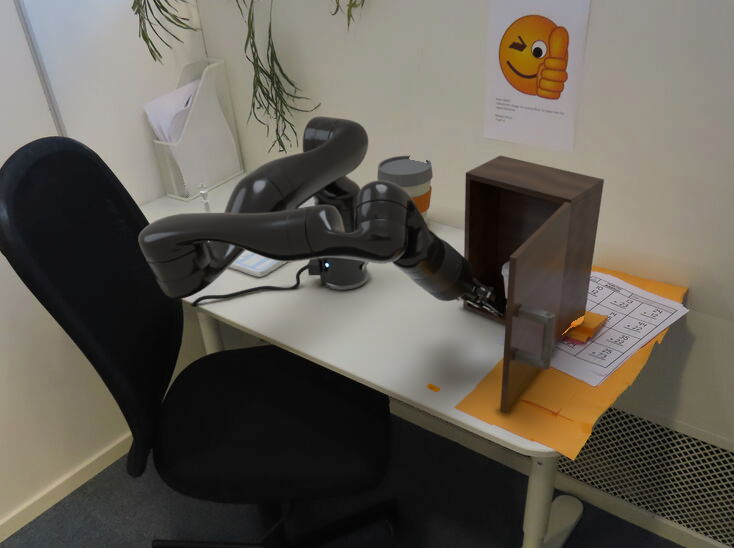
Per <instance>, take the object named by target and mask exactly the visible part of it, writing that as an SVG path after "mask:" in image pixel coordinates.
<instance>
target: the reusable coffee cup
mask: <svg viewBox="0 0 734 548" xmlns="http://www.w3.org/2000/svg"><path fill="white" fill-rule="evenodd" d="M410 156H411V155H398V156H393V157H392V156H391V157H388V158H387V159H386V158H385V159H383V160H381V161H380V162H379V163H378V165H377V181H388V182H392V183H394V184H396V185H398V186H400V187H401V188H403V189H404V190H405V191H406V192H407V193H408V194H409V195H410V197H411V198H412V199H413V201H414V202H415V204H416V206H417V208H418V209H419V211H420V213H421V215H422V216H423V218H424V220H425V223H426V224H427V217H428V210H429V209H430V206H431V198H432V189H433V187H432V185H431V182H432V179H433V177H434V176H433V175H434V174H433V167H432V162H431V160H429V159H428V160H426V162H427V163H424V162H420V161H415V160H410V159H409V157H410Z"/></svg>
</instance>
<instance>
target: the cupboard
mask: <svg viewBox="0 0 734 548" xmlns="http://www.w3.org/2000/svg"><path fill="white" fill-rule="evenodd" d="M464 184H465V185H464V186H465V187H464V188H465V190H464V191H465V193H464V194H465V195H464V243H463V245H464V246H463V248H464V250H463V257H464V258H465V259H466V260H467V261H468V262H469V263H470V265H471V267H472V272H473V277H474V278H476V279H477V281H478V282H480V283H481V284H483V285H485V286H487V287H488V288H489V287H493V288H494V289H495V290H497V291H498V292H499V293H500V294H501V295H503V296H504V297H505V285H504V276H503V275H502V267H503V265H504V264H505V263H507V262H509V261H510V256H511V255H512V254H513V253H514V252H515V251H516V250H517V249H518V248H519V247H520V246H521V245H522V244H523V243H524V242H525V241H526V240H527V239H528V238H529V237H530V236H531V235H533V234H534V233H535V232H536V231H537V230H538V229H539V228H540V227H541V226H542V225H543V224H544V223H545V222H546V221H547V220H548V219H549V218H550V217H551V216H552V215H553V214H554V213H555V212H556V211H557V210H558V209H559V208H560V207H561V206H562V205H563V204H564V203H565V202H568V203H572V204H571V213H570V222H569V230H568V239H567V248H566V257H565V265H564V274H563V283H562V292H561V300H560V309H559V318H558V327H557V335H556V344H555V346H556V345H557V344H559V343H560V342H561V341H562V340H563V339H565V338H566V337H568V335H569V334H571V333H572V332H573V331H574V330H575V329H577V328H576V327H572V328H570V329H569V330H568V331H567V332H566V333H564V332H565V331H566V330H567V329H568V328H569V327H570V326H571V323H572V322H573V321H575V320H577V319H578V318H580V317H582V316H584V315H585V317H584V318H586V310H587V304H588V303H587V302H588V297H589V289H590V281H591V275H592V268H593V260H594V254H595V247H596V240H597V232H598V227H599V219H600V211H601V204H602V197H603V191H604V190H603V189H604V184H605V179H604V178H600V177H595V176H591V175H586V174H582V173H578V172H574V171H570V170H565V169H561V168H557V167H556V168H555V167H552V166H549V165H543V164H539V163H535V162H530V161H525V160H521V159H517V158H513V157H508V156H505V155H498V156H496V157H494V158H492V159H490V160H488V161H486V162H484V163H482V164H480V165H478V166H476V167H474V168H472V169H470V170H467V171H466V172H465V183H464ZM479 297H480V296H479V295H478V296H477V297H476V298H474V299H472V300H474V301H476V302H477V301H478V299H479ZM505 298H506V297H505ZM462 302H463V303H462V309H464V310H465V311H469V312H471V313H474V314H475V315H478V316H481V317H483V318H486V319H487V320H491V321H493V322H496V323H498V324H499V325H502V326H506V311H505V313H504V315H503V316H501V317H498V316H496V315H495V314H493V313H492V312H490V311H489V310H488V309H486V308H484V307H481V308H480V307H476V306H474V305H472V304H471V303H469V302H467V301H462ZM563 333H564V334H563ZM562 334H563V335H562Z"/></svg>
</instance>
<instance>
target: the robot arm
mask: <svg viewBox="0 0 734 548" xmlns="http://www.w3.org/2000/svg"><path fill="white" fill-rule="evenodd" d="M368 149H369V135H368V132H367V130H366V129H365V128H364V125H362V124H361V123H360V122H357V121H355V120H352V119H346V118H339V117H331V116H321V115H320V116H315V117H312V118H311V119H310V120H308V121H307V123H306V125H305V127H304V130H303V134H302V152H299V153H294V154H291V155H287V156H283V157H279V158H275V159H272V160H270V161H267V162H266V163H264V164H262V165H260V166H259V167H257V168H256V169H254V170H252V171H251V172H250V173H248V174H247V175H245V176H244V177H242V178H241V179H240V180H239V181H238V182H237V183H236V185H235V186H234V187H233V190H232V191H231V193H230V196H229V197H228V200H227V203H226V206H225V210H224V212H211V213H205V212H187V213H186V212H185V213H177V214H172V215H167V216H164V217H161V218H159V219H156V220H154V221H153V222H151V223H149V224H148V225H146V226H145V227H144V228H143V229H142V230H141V232H140V233H139V235H138V237H137V238H138V239H137V240H138V242H137V243H138V246H139V248H140V250H141V253H142V255H143V257H144V259H145V261H146V263H147V265H148V268H149V269H150V272H151V273H152V275H153V277H154V279H155V281H156V283H157V285H158V287H159V288H160V290H161V291H162V293H163V294H164V295H165V296H166V297H167V298H169V299H173V300H183V299H186V298H189V297H192V296H194V295H196V294H198V293H199V292H201V291H203V290H204V289H206V288H207V287H209V286H210V285H211V284H212V283H214V281H216V280H217V279H218V278H219V277H220V276H221V275H222V274H223V273H224V272H225V271H227V269H228V268H230V267H229V266H230V265H231V264H232V263H233V262H234V261H235V260H236V259H237V258H238V257H239V256H240V255H241V254H242V253H243V252H244V251H245V250H247V251H250V252H252V253H255V254H257V255H260V256H263V257H266V258H269V259H272V260H276V261H284V262H286V263H291V262H302V261H308V263H307V264H306V265H304V266H302V267H301V268H299V270H298V271H297V272H296V274H295V281H296V282H295V284H293V285H292V286H289V287H281V286H274V285H261V286H254V287H251V288H247V289H242V290H239V291H236V292H235V291H234V292H231V293H227V294H207V295H202V296H199V297H197V298H196V299H195V300H194V301H193V302H192V303H191V305H190V307H195V306H196V305H198V304H199V303H200V302H202V301H205V300H224V299H230V298H235V297H238V296H242V295H246V294H250V293H255V292H257V291H258V292H259V291H266V290H267V291H293V290H296V289H297V288H299V287H300V285H301V279H300V276H301V274H302V273H303V272H304V271H306V270H307V272H308V273H307V274H308V276H318V277H319V278H320V286H322V287H327V288H329V289H332V290H337V291H347V290H353V289H357V288H359V287H361V286H363V285H364V284H365V283H366V282H368V278H369V275H368V265H369V263H370V264H378V265H383V264H390V263H392V264H393V266H395V267H396V268H397V269H398V270H400V271H401V272H403V273H404V274H405V275H407V276H408V277H409V278H410V279H411V281H413V282H414V283H415V284H416V285H417V286H418V287H420V288H421V289H423V290H424V291H425V292H427V293H428V294H430V295H431V296H433V297H434V298H435V299H437V300H439V301H442V302H451V301H458V302H459V301H462V302H463V301H467V302H469V303H471V304H472V305H474V306H476V307H480V308H481V307H484V308H486V309H488V310H489V311H490V312H492V313H493V314H495V315H496V316H498V317H501V316H503V315H504V313H505V311H506V309H507V307H506V305H507V298H505V297H504V296H503V295H501V294H500V293H499V292H498V291H497V290H495V289H494V288H493V287H489V288H488V287H487V286H485V285H483V284H481V283H480V282H478V281H477V279H476V278H474V277H473V272H472V267H471V265H470V263H469V262H468V261H467V260H466V259H465V258H464V255H462V254H461V253H460V252H459V251H458V250H456V249H455V247H453V246H452V245H451V244H450V243H449V242H447V241H446V240H445V239H442V238H440V237H439V236H438V235H437V234H436V233H435V232H434V231H433V230H432V229H430V228H429V227H428V225H427V222H426V223H425V220H424V218H423V216H422V215H421V213H420V211H419V209H418V208H417V206H416V204H415V202H414V201H413V199H412V198H411V197H410V195H409V194H408V193H407V192H406V191H405V190H404V189H403V188H401V187H400V186H398V185H396V184H394V183H392V182H388V181H378V180H373V181H369V182H368V183H366V184H365V185H363V186H362V187H361V188H360V186H359V184H358V183H356V181H354V180H352V179H351V178H350V177H348V176H347V175H349V174H351V173H352V172H354V171H355V170H356V169H357V168H358V167H360V165H361V164H362V162H363V161H364V159H365V157H366V155H367V152H368ZM312 198H313V204H314V205H310V206H304V207H301V206H303V205H304V204H305V203H307V202H308V201H309V200H311V199H312ZM478 295H479V296H480V297H479V299H478V301H477V302H476V301H474V300H472V299H474V298H476V297H477V296H478Z"/></svg>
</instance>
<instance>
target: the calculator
mask: <svg viewBox="0 0 734 548" xmlns="http://www.w3.org/2000/svg"><path fill="white" fill-rule="evenodd" d="M286 263H287V262H284V261H276V260H272V259H269V258H266V257H263V256H260V255H257V254H255V253H252V252H250V251H247V250H245V251H244V252H243V253H242V254H241V255H240V256H239V257H238V258H237V259H236V260H235V261H234V262H233V263H232V264H231V265H230V266H229V267H228V268H230V269H233V270H236V271H239V272H241V273H245V274H247V275H250V276H253V277H257V278H262V277H264V276H266V275H268V274H270V273H271V272H273V271H275V270H276V269H278V268H279V267H281V266H283V265H284V264H286Z"/></svg>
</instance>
